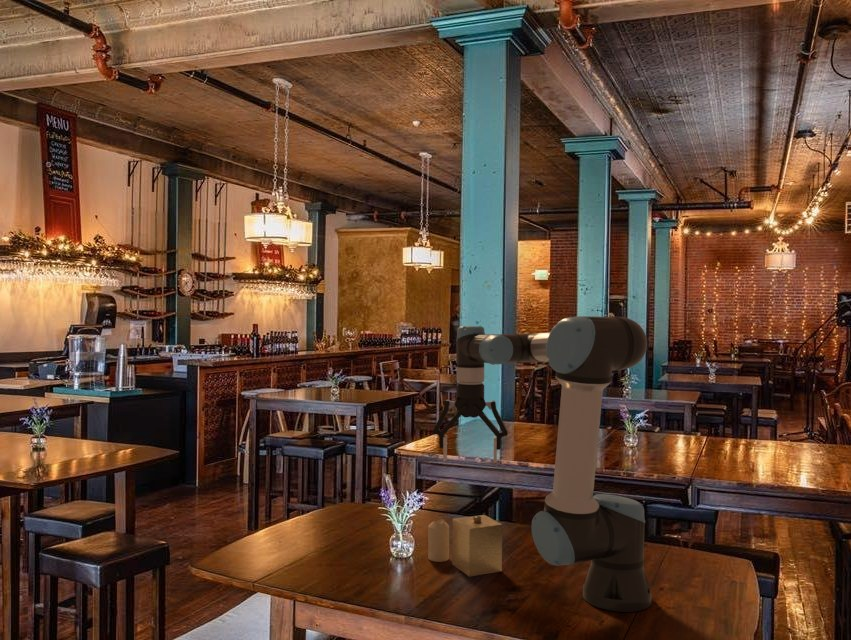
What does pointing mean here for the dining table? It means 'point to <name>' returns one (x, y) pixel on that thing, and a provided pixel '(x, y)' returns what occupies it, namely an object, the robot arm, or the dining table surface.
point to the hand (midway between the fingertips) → (470, 461)
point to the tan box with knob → (477, 545)
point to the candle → (438, 541)
